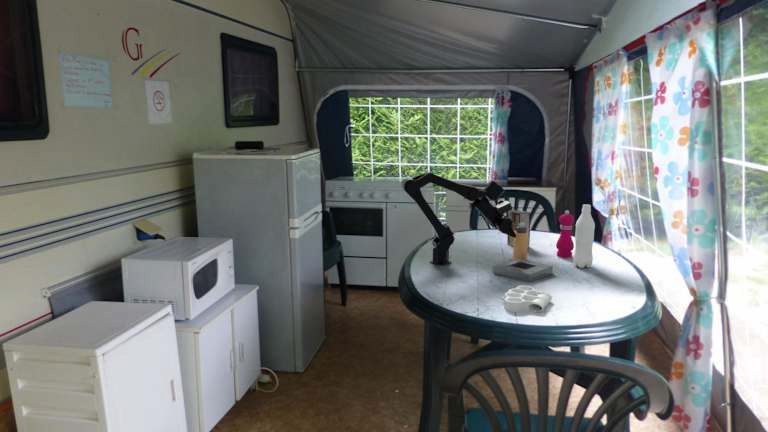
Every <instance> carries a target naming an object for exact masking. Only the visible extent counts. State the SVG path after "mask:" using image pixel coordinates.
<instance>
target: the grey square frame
mask: <svg viewBox="0 0 768 432" xmlns="http://www.w3.org/2000/svg"><path fill="white" fill-rule="evenodd" d="M553 267H554V266H553V265H550V264H545V263H541V262H537V261H533V260H528V259H527V260H525V259H520V258H515V259H513V258H512V259H509V260H506V261H502V262H499V263H496V264H493V265H492V274H495V275H499V276H503V277H508V278H510V279H515V280H518V281H521V282H522V281H523V282H526V283H531V282H533V281H534V282H535V281H537V280H539V279H541V278H544V277H547V276H549V275H551V274H552V275H553Z"/></svg>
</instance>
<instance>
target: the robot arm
mask: <svg viewBox="0 0 768 432" xmlns="http://www.w3.org/2000/svg"><path fill="white" fill-rule="evenodd" d="M430 183H431V184H434V185H436V186H439V187H442V188H443V189H446V190H449V191H452V192H454V193H456V194H458V195H460V196H462V198H465V199H466V200H468V201H469V203H468V204H469V206H468V208H469V210H471V211H474V209H476V210H477V211H478V212H479V213H480V214H481V216H482V217H484V218H485V222H486V223H487V224H488V225H489V226H491V227H493V228H495V229H496V230H497V231H499V232H500V233H501V234H503V235H506V236H508V235H509V236H511V237H514V238H516V234H515V232H514V230H513V229H512V224H513V221H512V220H511V219H510V218H508V216H505V213H508V211H512V210H514V208H513V206H512V204H511V202H510V201H508V200H502V199H499V200H497V199H498V198H500V197H501V195H503V193H504V192H505V190H504V187H502V186H501V185H500V184H498V183H497V182H495V180H493V179H492V180H490V181H489V183H488V185H486V187H484V189H482V188H477V187H475V186H474V185H471V184H466V183H459V182H455V181H453V180H450V179H447V178H445V177H442V176H440V175H437V174H435V173H433V172H431V171H426V172H424V173H421V174H418V175H416V176H413V177H406V178H404V179H403V180H402V182H401V188H402V190H403V191H405V193H406V194H407V196H409V197H410V198H411V199H412V200H413V201H414V202H415V203H416V205H417V207H418V208H419V209H420V211H421V212H422V214H423V215H424V216H425V218H426V219H427V221H428V222H429V224H430V225H431V226H432V229H433V231H434V233H435V238H433V239H432V241H431V244H432V246H433V248H432V260H430V261H429V263H430V264H431V263H432V264H434V265H438V266H443V265H448V264H451V263H452V261H451V260H450V247H451V246H452V245H453V244H454V241H455V236H454V235H455V233H454V232H453V231H452V230H451V228H450V226H449V225H448V224H447V223H444V224H443V223H442V222H441V221H440V219H439V218H438V216H437V215H436V213H435V212H434V210H433V209H432V207H431V206H430V205H429V203H428V202H427V200H426V198H424V195H423V193H422V190H421V188H424V187H425V186H427V185H428V184H430ZM493 201H494V202H496V201H497V204H496V205H493V204H492V203H491V202H493Z"/></svg>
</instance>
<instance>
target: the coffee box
mask: <svg viewBox="0 0 768 432" xmlns="http://www.w3.org/2000/svg"><path fill="white" fill-rule="evenodd" d="M531 216H532V213H531V212H529V211H525V210H520V209H512V210H511V211H508V212H507V217H508V218H510V219H511V220H512V221H513V224H512V229H513V230H514V231H516V227H517V226H518V225H519V223H520V224H521V223H525V226H524V227H527V232H528V245H527V248H529V247H530V241H531V239H530V236H531V218H532V217H531ZM506 238H507V239H506V240H507V241H506V242H507V243H506V244H507V245H509V246H512V247H514V237H511V236H509V235H507V237H506Z"/></svg>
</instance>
